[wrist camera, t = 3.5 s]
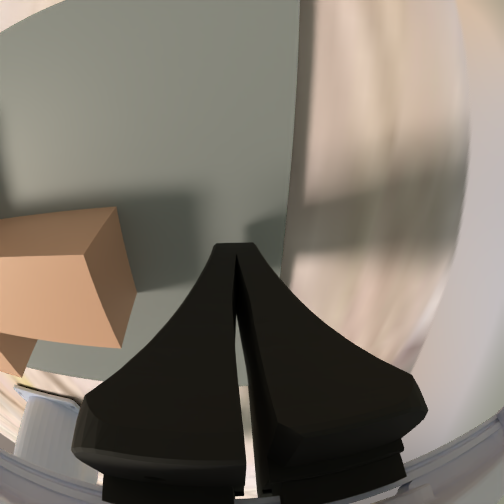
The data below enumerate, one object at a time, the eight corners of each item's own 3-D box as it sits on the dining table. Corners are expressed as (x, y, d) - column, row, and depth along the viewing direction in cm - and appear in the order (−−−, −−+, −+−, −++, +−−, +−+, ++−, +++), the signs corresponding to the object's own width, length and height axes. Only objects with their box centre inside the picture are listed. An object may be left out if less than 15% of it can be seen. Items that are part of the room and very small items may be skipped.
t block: (102, 93, 7) (53, 103, 4) (155, 349, 14) (148, 399, 11) (-71, 162, 6) (-106, 187, 3) (-1, 331, 12) (-17, 365, 10)
